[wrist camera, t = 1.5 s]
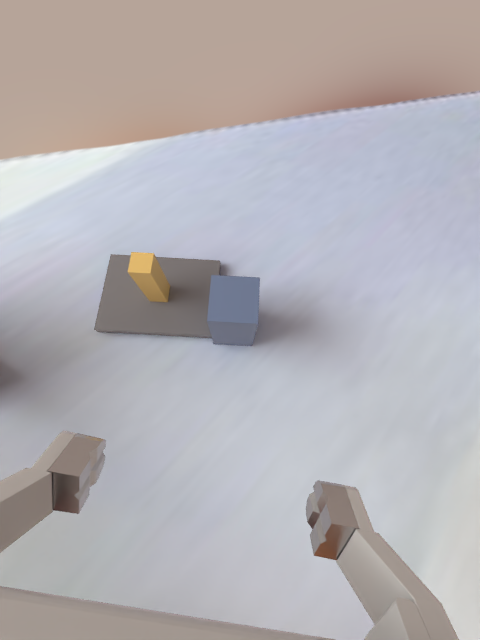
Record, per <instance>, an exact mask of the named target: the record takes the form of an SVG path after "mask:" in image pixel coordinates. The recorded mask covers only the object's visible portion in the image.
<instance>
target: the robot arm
mask: <svg viewBox="0 0 480 640" xmlns="http://www.w3.org/2000/svg"><path fill="white" fill-rule="evenodd" d="M105 447H106V440H105V439H101V438H96V437H92V436H87V435H83V434H78V433H73V432H68V431H63V432H61V433H60V434H59V435H58V436H57V437H56V438H55V440H54V441H53V442H52V443H51V444H50V446H49V447H48V448H47V449H46V450H45V452H44V453H43V454H42V455H41V456H40V458H39V459H38V460H37V461H36V462H35V464H34V465H33V466H32V467H31V468H25V469H23V470H21V471H19V472H17V473H15V474H13V475H11V476H9V477H8V478H6V479H4V480H2V481H0V552H2V551H3V550H4V549H6V548H7V547H8V546H9V545H11V544H12V543H13V542H15V541H16V540H17V539H18V538H20V537H21V536H22V535H24V534H25V533H26V532H27V531H29V530H30V529H31V528H33V527H34V526H35V525H36V524H38V523H39V522H40V521H42V520H43V519H44V518H45V517H47V516H48V515H49V514H51V513H52V512H53V510H56V511H63V512H70V513H77V514H79V513H80V511H81V509H82V507H83V505H84V504H85V502H86V500H87V498H88V496H89V490H90V487H91V486H92V485H94V484H95V483H96V482H97V480H98V478H99V476H100V474H101V471H102V469H103V465H104V461H105V455H104V453H103V450H104V449H105ZM313 488H314V492H313V493H311V494H309V497H308V499H307V504H306V516H307V522H308V523H309V525H310V526H311V528H312V529H313V530H312V532H311V534H310V538H311V544H312V549H313V554H314V556H319V557H323V558H328V559H333V560H337V561H336V562H337V564H338V565H339V567H340V569H341V570H342V572H343V573H344V575H345V577H346V578H347V580H348V582H349V583H350V585H351V587H352V588H353V590H354V591H355V593H356V595H357V596H358V598H359V600H360V601H361V603H362V604H363V606H364V608H365V609H366V611H367V613H368V614H369V616H370V617H371V619H372V621H373V622H374V624H375V625H374V627H373V628H372V629H371V630H370V631H369V633H368V634H367V635H366V637H365V639H364V640H459V639H458V637H457V635H456V633H455V631H454V629H453V627H452V625H451V623H450V621H449V618H448V616H447V614H446V612H445V610H444V608H443V606H442V604H441V603H440V602H439V600H438V599H437V598H436V597H435V596H434V595H433V594H432V593H431V592H430V590H429V589H428V588H427V587H426V586H425V585H424V584H423V583H422V581H421V580H420V579H419V578H418V577H417V576H416V575H415V574H414V573H413V571H412V570H411V569H410V568H409V567H408V566H407V565H406V564H405V562H404V561H403V560H402V559H401V558H400V557H399V556H398V555H397V553H396V552H395V551H394V550H393V549H392V548H391V547H390V546H389V545H388V543H387V542H386V541H385V540H384V539H383V538H382V537H381V536H380V534H379V533H376V532H374V530H373V527H372V525H371V522H370V520H369V517H368V515H367V512H366V509H365V507H364V504H363V502H362V499H361V497H360V494H359V492H358V490H357V489H356V487H350V486H345V485H341V484H336V483H330V482H324V481H319V480H318V481H316V482H315V484H314V486H313ZM0 640H334V639H328V638H322V637H316V636H309V635H303V634H297V633H291V632H284V631H278V630H272V629H266V628H259V627H253V626H247V625H241V624H235V623H228V622H222V621H216V620H210V619H203V618H197V617H191V616H184V615H178V614H172V613H166V612H159V611H153V610H147V609H141V608H134V607H128V606H122V605H115V604H109V603H103V602H97V601H90V600H84V599H78V598H72V597H65V596H59V595H53V594H46V593H40V592H34V591H28V590H21V589H15V588H9V587H2V586H0Z"/></svg>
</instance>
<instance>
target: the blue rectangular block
mask: <svg viewBox="0 0 480 640" xmlns="http://www.w3.org/2000/svg"><path fill="white" fill-rule="evenodd" d="M259 284H260V278H256V277H238V276H221V275H211V284H210V295H209V305H208V316H207V323H208V326H209V329H210V333H211V336H212V340H213V343H214V344H226V345H243V346H252V344H253V341H254V337H255V333H256V330H257V326H258V312H259Z"/></svg>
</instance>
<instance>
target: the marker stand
mask: <svg viewBox="0 0 480 640" xmlns="http://www.w3.org/2000/svg"><path fill="white" fill-rule="evenodd" d="M211 275H220V261H216V260H198V259H181V258H164V257H155V255H154V253H138V252H131V256H129V255H112V254H111V256H110V261H109V265H108V270H107V274H106V279H105V283H104V288H103V292H102V297H101V301H100V305H99V310H98V314H97V319H96V323H95V328H94V330H96V331H98V332H113V333H131V334H148V335H166V336H183V337H201V338H212V336H211V333H210V329H209V326H208V323H207V316H208V305H209V295H210V284H211Z"/></svg>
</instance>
